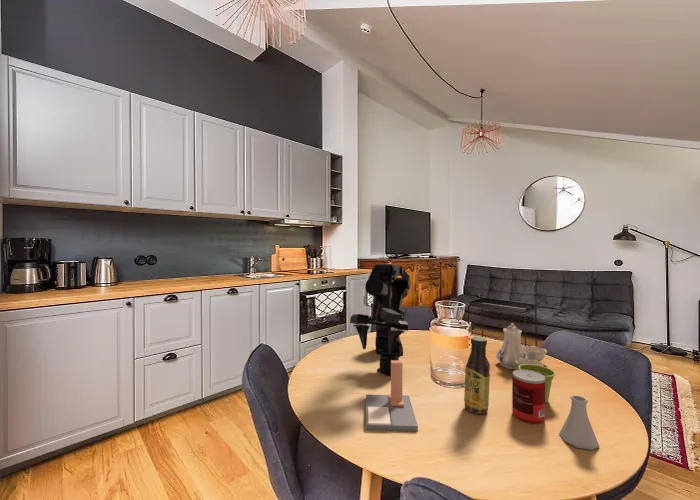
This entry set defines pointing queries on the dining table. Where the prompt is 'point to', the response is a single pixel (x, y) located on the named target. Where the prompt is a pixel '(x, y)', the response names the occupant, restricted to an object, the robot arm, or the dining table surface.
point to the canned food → (528, 396)
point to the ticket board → (389, 414)
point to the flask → (579, 426)
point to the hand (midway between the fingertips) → (377, 350)
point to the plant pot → (544, 371)
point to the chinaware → (518, 350)
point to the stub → (396, 384)
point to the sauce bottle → (477, 378)
